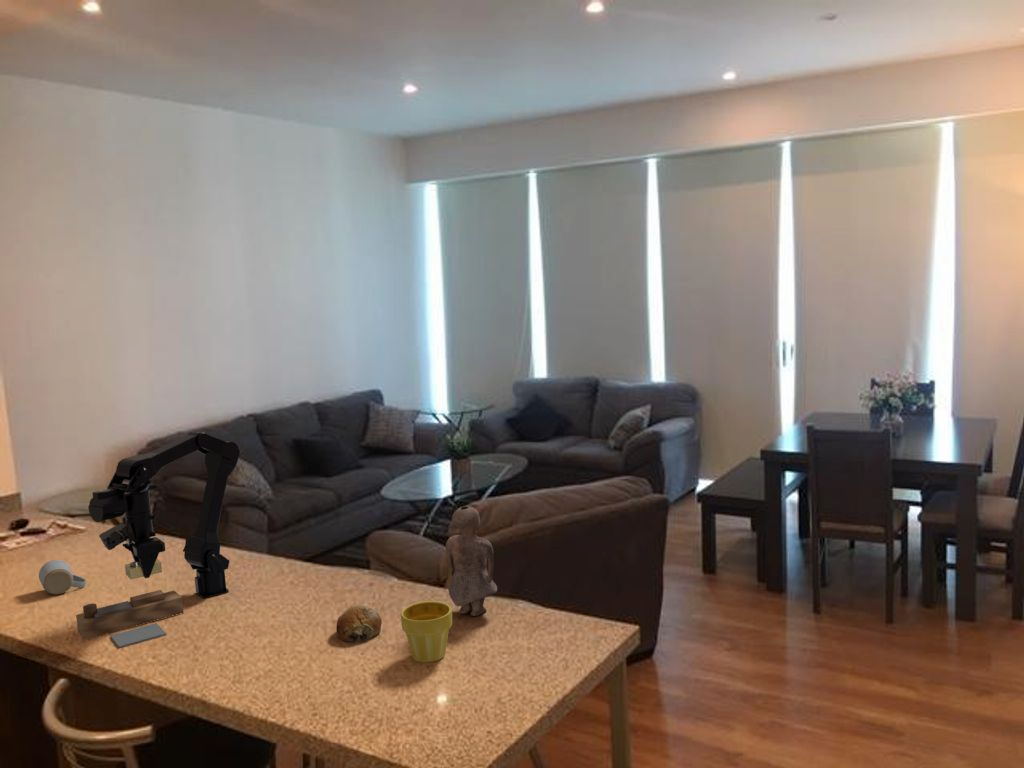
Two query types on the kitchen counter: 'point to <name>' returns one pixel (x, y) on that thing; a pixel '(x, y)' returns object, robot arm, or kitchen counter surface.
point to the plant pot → (427, 629)
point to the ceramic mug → (58, 577)
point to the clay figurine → (469, 563)
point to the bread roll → (358, 624)
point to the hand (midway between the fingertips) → (144, 575)
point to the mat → (138, 635)
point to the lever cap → (140, 569)
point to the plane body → (128, 613)
